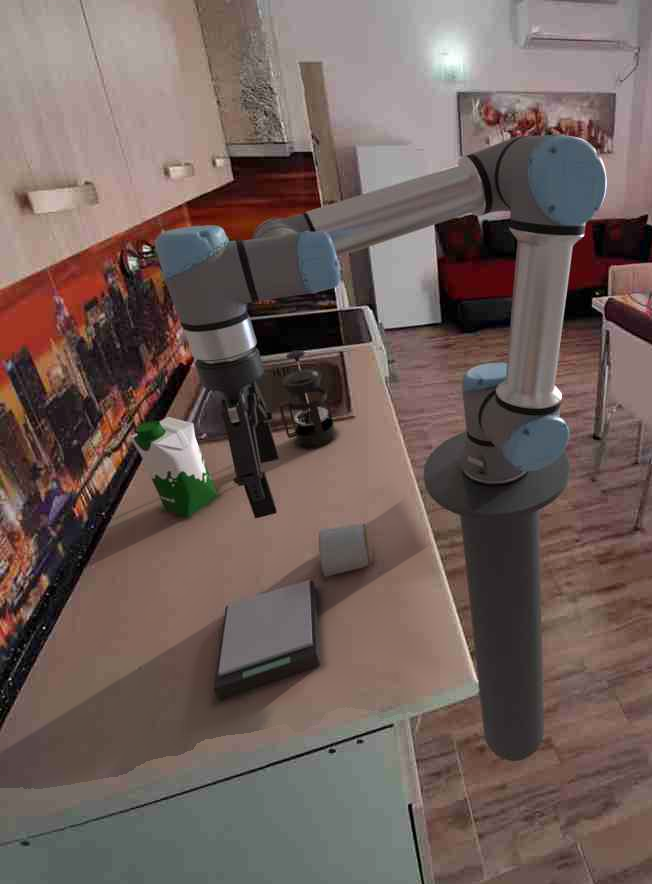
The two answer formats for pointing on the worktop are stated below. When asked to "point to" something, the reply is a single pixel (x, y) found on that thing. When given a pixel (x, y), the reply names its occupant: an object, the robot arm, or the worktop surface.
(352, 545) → the ceramic mug
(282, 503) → the worktop surface
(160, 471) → the milk carton
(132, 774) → the worktop surface
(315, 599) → the kitchen scale
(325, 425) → the french press
